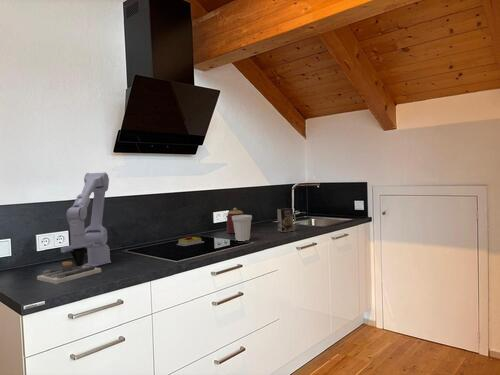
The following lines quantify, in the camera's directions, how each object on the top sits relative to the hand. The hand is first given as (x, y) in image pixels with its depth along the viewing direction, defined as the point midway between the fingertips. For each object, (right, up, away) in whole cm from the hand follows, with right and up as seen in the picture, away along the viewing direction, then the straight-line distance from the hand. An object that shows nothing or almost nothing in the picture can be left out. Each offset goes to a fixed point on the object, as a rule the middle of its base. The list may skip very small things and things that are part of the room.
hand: (79, 265), depth 158 cm
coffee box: (+99, +3, +93) cm, 136 cm away
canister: (+64, +2, +99) cm, 118 cm away
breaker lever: (-3, -2, -4) cm, 5 cm away
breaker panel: (-2, -3, -3) cm, 5 cm away
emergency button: (+38, -1, +63) cm, 74 cm away
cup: (+70, +1, +64) cm, 95 cm away
